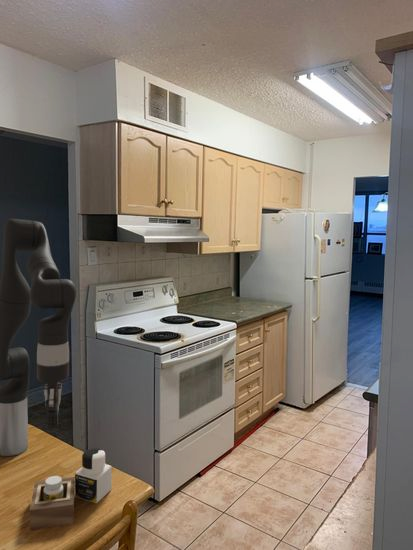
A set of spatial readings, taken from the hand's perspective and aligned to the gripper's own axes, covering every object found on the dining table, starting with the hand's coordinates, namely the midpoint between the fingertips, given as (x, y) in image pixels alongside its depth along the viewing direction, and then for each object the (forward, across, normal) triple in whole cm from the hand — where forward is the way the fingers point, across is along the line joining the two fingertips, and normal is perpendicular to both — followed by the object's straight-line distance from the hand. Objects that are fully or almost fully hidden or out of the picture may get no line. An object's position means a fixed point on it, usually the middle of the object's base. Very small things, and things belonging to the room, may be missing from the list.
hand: (53, 426), depth 107 cm
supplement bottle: (+23, 0, 0) cm, 23 cm away
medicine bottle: (+23, +5, -10) cm, 25 cm away
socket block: (+22, 0, 0) cm, 23 cm away
